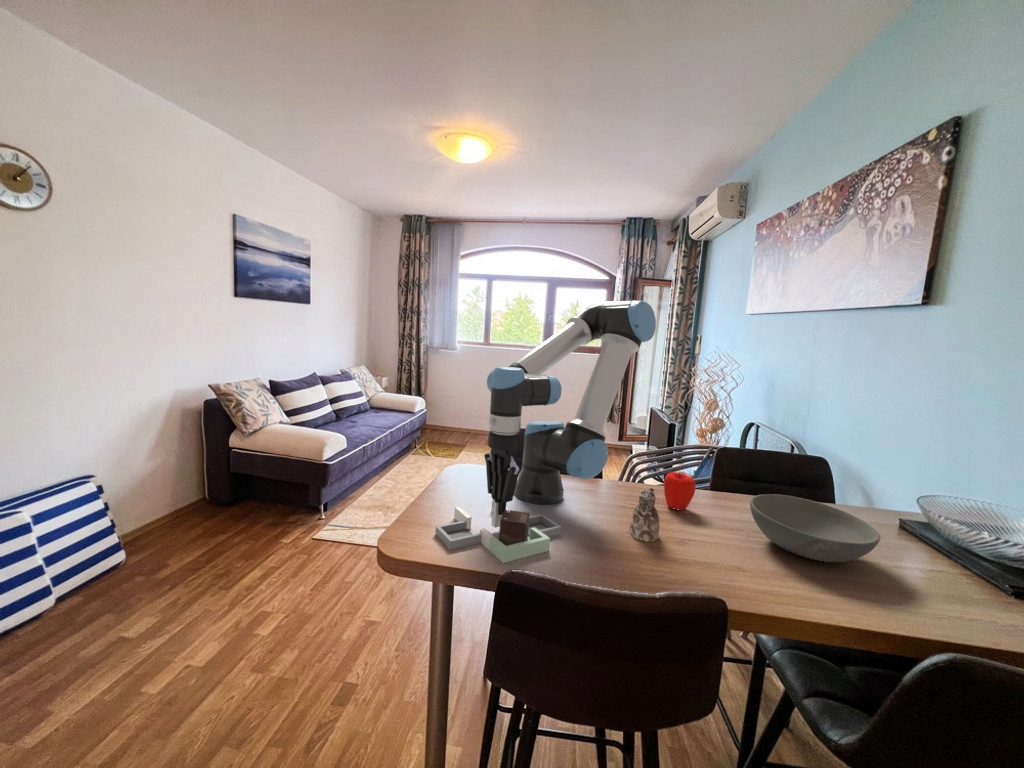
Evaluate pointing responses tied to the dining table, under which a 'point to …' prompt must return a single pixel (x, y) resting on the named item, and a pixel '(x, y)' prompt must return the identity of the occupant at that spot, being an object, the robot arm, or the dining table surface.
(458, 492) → the dining table surface
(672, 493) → the apple
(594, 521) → the dining table surface
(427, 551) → the dining table surface
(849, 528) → the bowl
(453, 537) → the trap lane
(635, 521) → the figurine
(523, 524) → the box
